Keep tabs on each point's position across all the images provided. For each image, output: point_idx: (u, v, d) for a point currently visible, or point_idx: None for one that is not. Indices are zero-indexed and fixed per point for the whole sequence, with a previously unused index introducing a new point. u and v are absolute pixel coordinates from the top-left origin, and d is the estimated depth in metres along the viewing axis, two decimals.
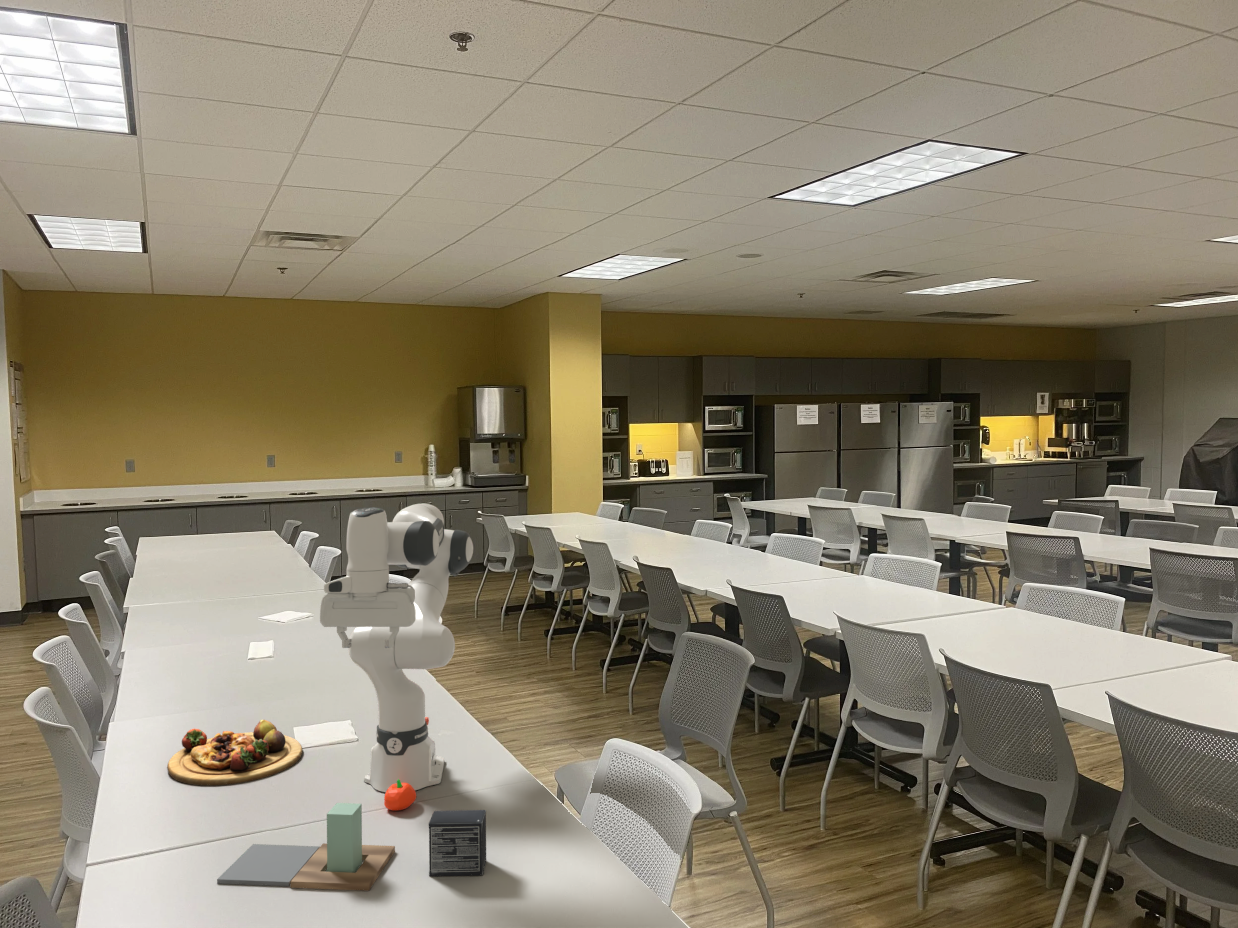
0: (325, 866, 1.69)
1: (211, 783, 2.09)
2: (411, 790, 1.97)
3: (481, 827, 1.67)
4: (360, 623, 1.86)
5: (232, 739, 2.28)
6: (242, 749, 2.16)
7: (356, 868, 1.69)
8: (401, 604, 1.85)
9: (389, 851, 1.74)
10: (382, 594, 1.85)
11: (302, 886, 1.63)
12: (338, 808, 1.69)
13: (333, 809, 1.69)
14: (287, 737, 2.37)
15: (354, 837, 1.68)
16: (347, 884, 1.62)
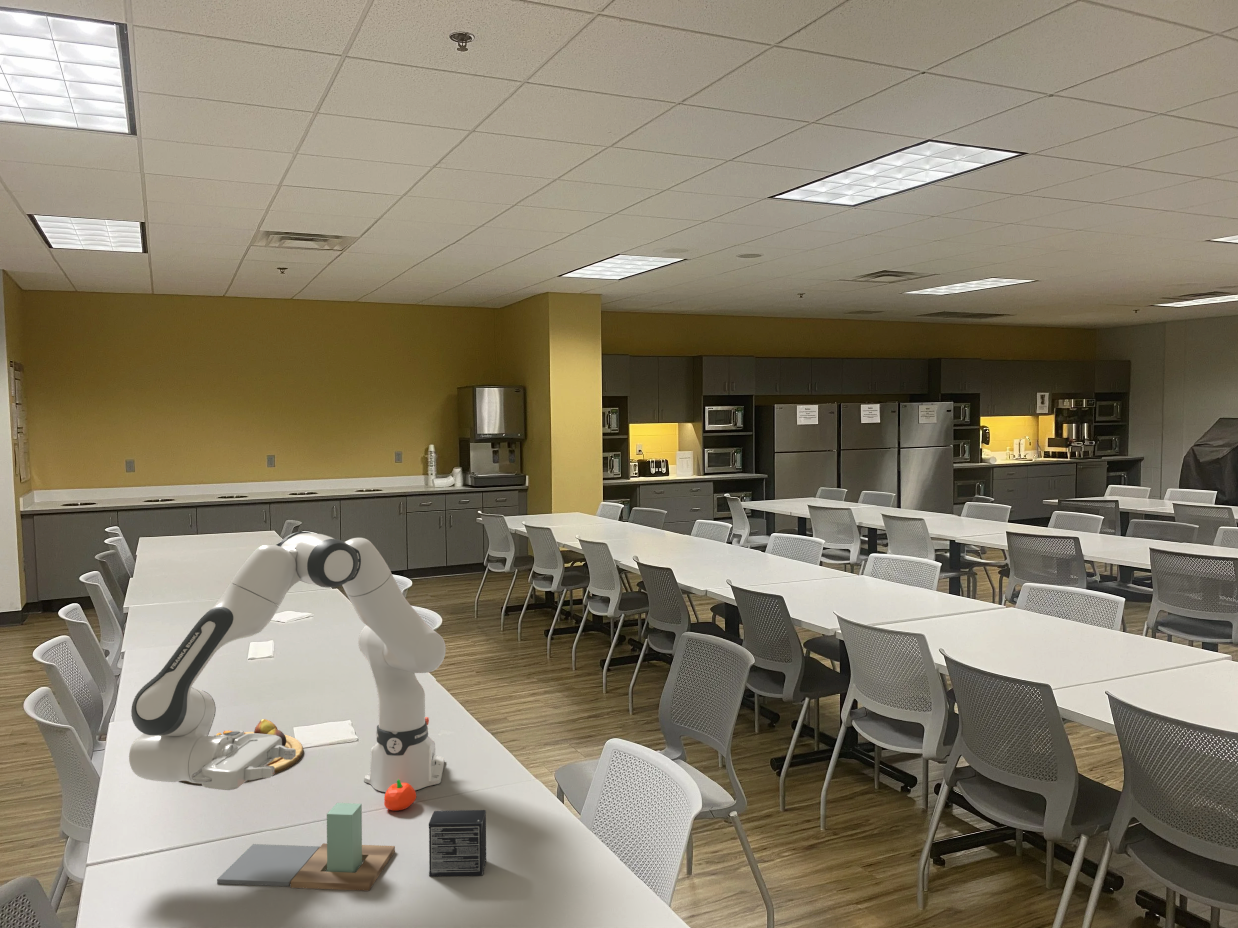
0: (325, 866, 1.69)
1: None
2: (411, 790, 1.97)
3: (481, 827, 1.67)
4: None
5: None
6: None
7: (356, 868, 1.69)
8: None
9: (389, 851, 1.74)
10: None
11: (302, 886, 1.63)
12: (338, 808, 1.69)
13: (333, 809, 1.69)
14: (288, 736, 2.37)
15: (354, 837, 1.68)
16: (347, 884, 1.62)
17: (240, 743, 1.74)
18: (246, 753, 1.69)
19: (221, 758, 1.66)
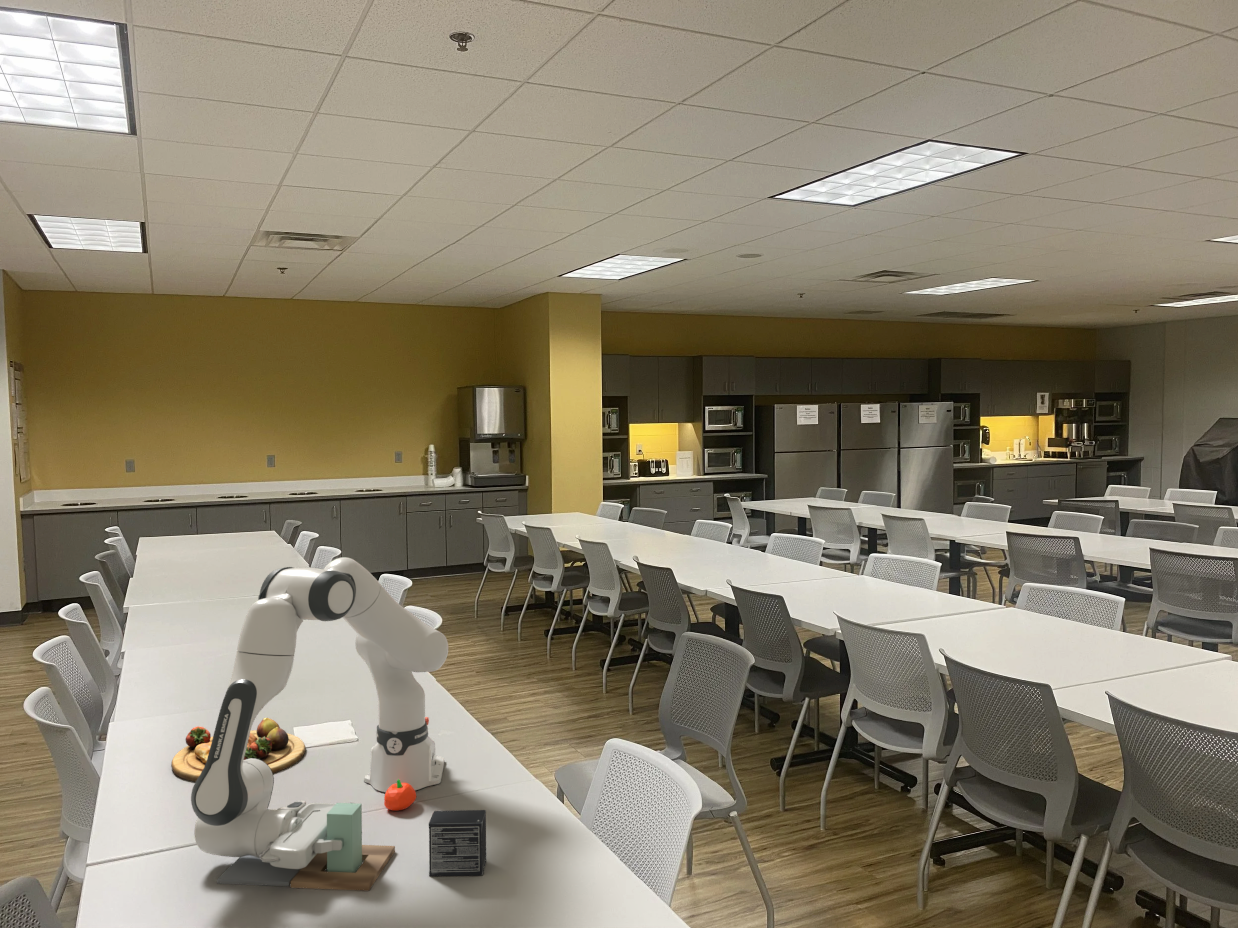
0: (325, 866, 1.69)
1: None
2: (411, 790, 1.97)
3: (481, 827, 1.67)
4: None
5: None
6: None
7: (356, 868, 1.69)
8: None
9: (389, 851, 1.74)
10: None
11: (302, 886, 1.63)
12: (338, 808, 1.69)
13: (333, 809, 1.69)
14: (290, 735, 2.39)
15: (354, 837, 1.68)
16: (347, 884, 1.62)
17: (304, 815, 1.74)
18: (311, 827, 1.69)
19: (287, 834, 1.66)
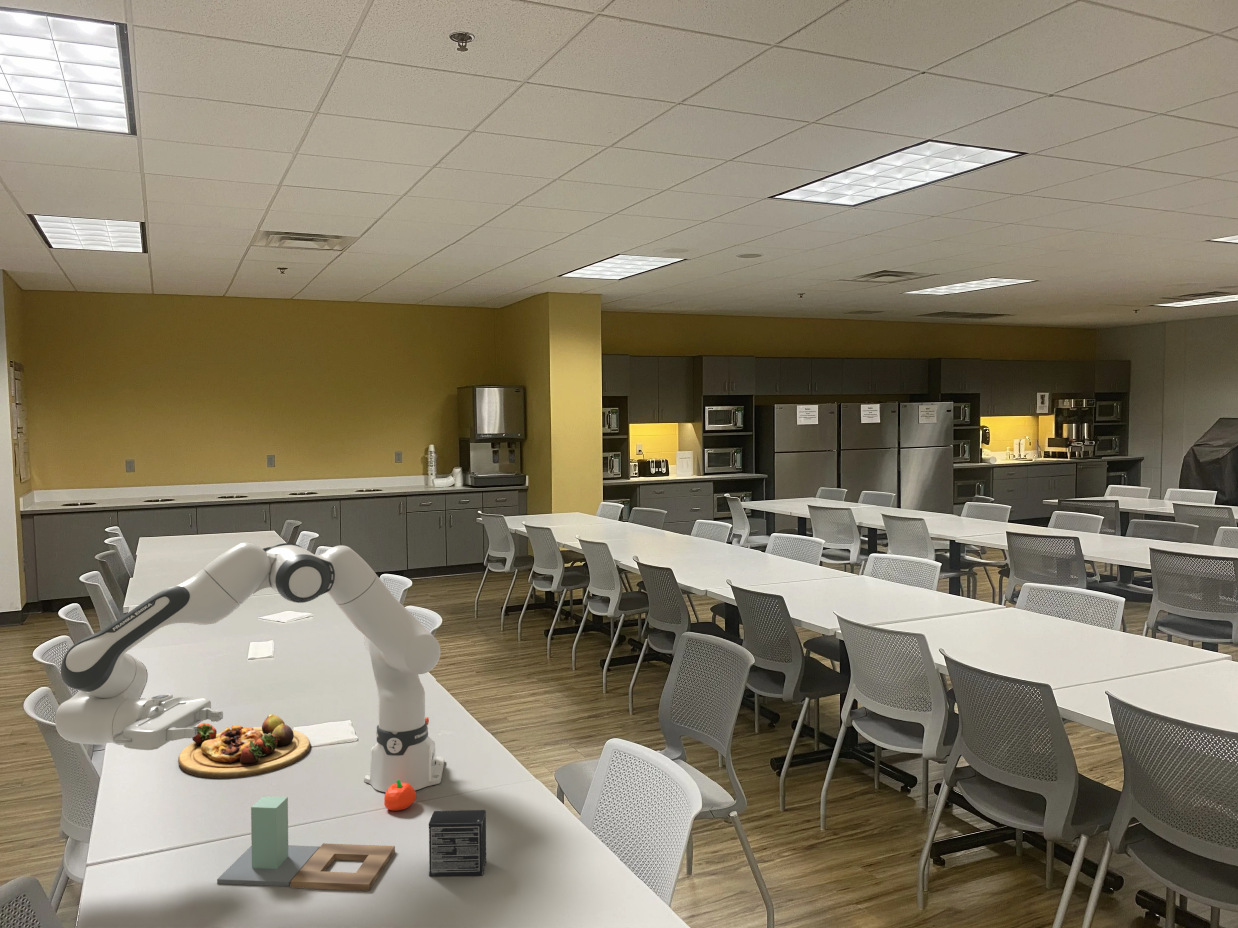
0: (325, 866, 1.69)
1: (221, 776, 2.13)
2: (411, 790, 1.97)
3: (481, 827, 1.67)
4: None
5: (241, 733, 2.33)
6: (252, 743, 2.21)
7: (281, 861, 1.70)
8: None
9: (389, 851, 1.74)
10: None
11: (302, 886, 1.63)
12: (263, 801, 1.70)
13: (258, 802, 1.70)
14: (295, 731, 2.41)
15: (279, 831, 1.69)
16: (347, 884, 1.62)
17: (167, 705, 1.75)
18: (171, 715, 1.70)
19: (145, 720, 1.67)
